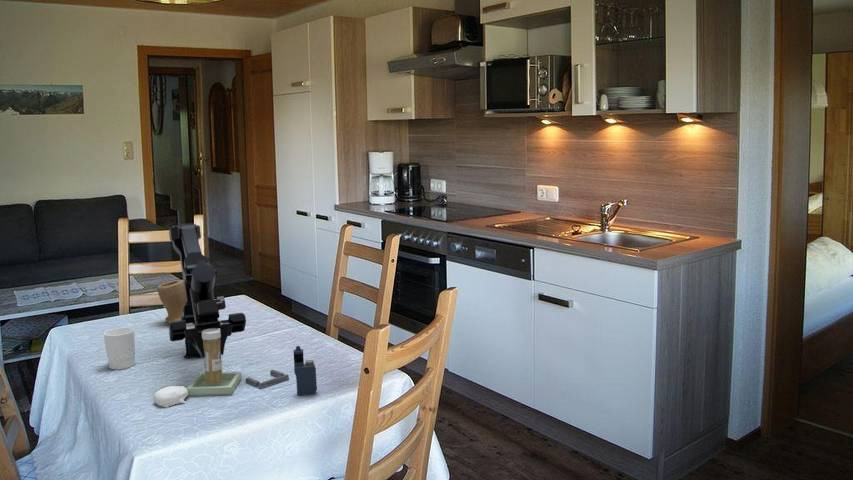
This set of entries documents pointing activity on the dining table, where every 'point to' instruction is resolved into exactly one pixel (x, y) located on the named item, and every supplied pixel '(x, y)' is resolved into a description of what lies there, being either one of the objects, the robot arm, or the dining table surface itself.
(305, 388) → the vaping device
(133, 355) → the white cup
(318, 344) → the dining table surface
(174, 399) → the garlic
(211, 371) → the sprinkles bottle
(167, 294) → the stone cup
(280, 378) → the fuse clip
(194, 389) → the tray
